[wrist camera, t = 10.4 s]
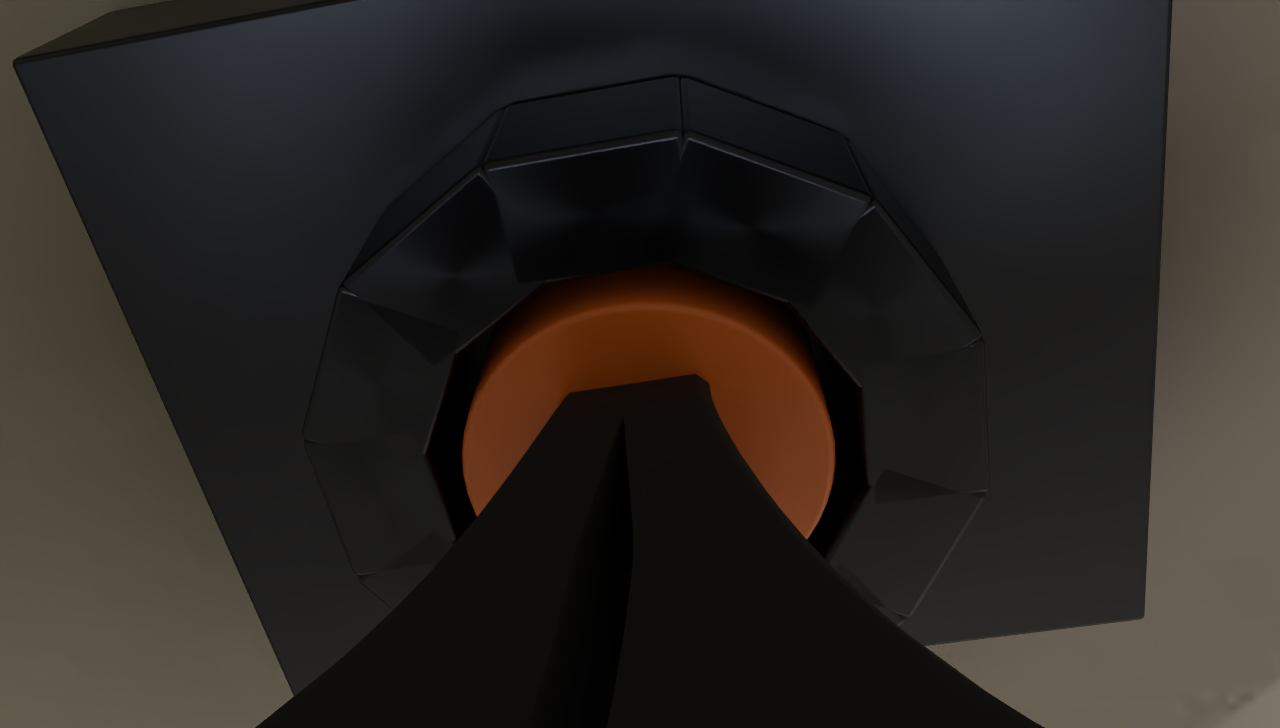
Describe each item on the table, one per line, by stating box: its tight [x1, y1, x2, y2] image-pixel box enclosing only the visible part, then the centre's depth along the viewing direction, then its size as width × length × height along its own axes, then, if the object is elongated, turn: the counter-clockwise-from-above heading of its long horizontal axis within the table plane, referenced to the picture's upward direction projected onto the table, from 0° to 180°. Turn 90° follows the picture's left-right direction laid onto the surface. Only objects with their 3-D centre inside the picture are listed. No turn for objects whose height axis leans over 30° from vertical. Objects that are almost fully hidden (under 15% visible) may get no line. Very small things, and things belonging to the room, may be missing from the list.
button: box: [462, 264, 835, 539], centre depth 12 cm, size 4×4×2 cm
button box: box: [13, 0, 1172, 696], centre depth 13 cm, size 11×9×4 cm
